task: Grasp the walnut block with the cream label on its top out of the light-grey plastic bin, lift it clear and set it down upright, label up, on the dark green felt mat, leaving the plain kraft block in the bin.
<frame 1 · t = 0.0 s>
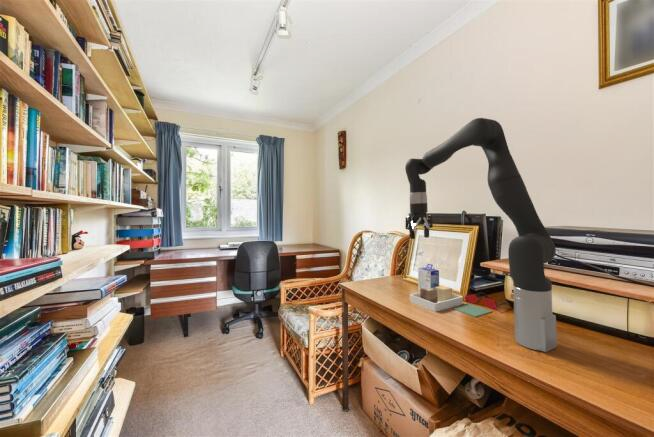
hand: (419, 238, 120), 29 cm above the table, fingers open, 8 cm apart
kraft block: (443, 300, 120), resting on bin
felt mat: (472, 311, 107), on the table
ink cartridge box: (429, 293, 133), on the table
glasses: (490, 304, 115), on the table
bin: (435, 303, 118), on the table
labelled block: (429, 304, 116), resting on bin
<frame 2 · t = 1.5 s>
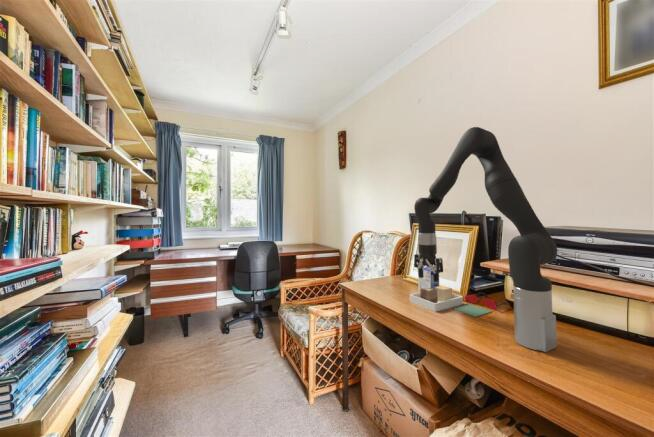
hand: (428, 279, 116), 11 cm above the table, fingers open, 8 cm apart
nothing on the table moved.
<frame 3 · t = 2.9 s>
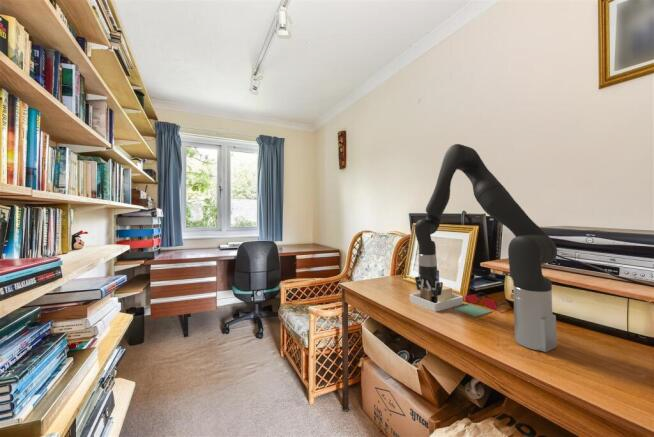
hand: (429, 302, 116), 1 cm above the table, fingers closed on labelled block, 5 cm apart
labelled block: (429, 304, 116), resting on bin, touching gripper
everything else where it was.
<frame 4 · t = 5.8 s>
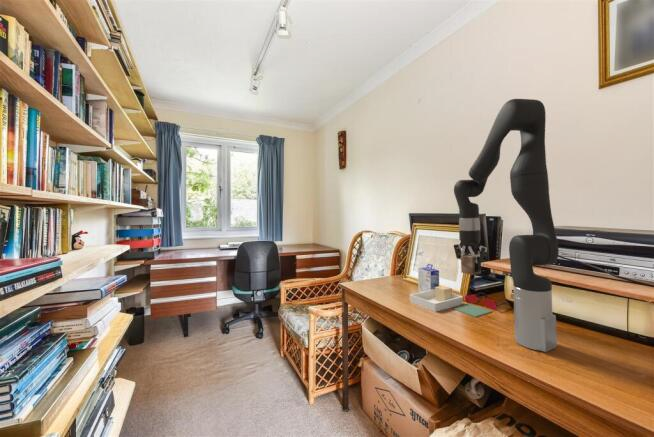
hand: (470, 270, 107), 17 cm above the table, fingers closed on labelled block, 5 cm apart
labelled block: (471, 272, 107), point 16 cm above the table, touching gripper
everything else where it was.
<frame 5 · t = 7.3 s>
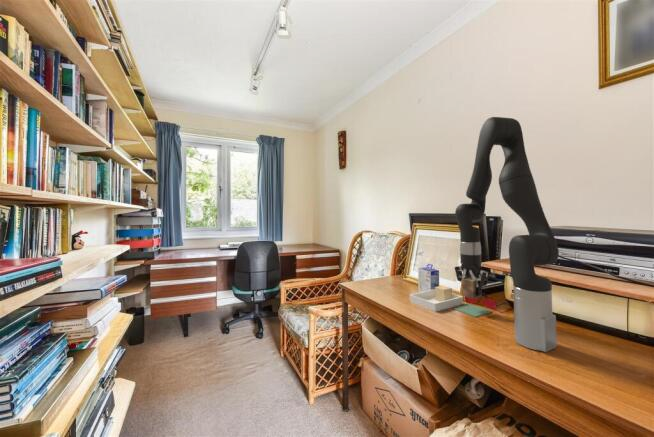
hand: (471, 293, 107), 7 cm above the table, fingers closed on labelled block, 5 cm apart
labelled block: (471, 296, 107), point 6 cm above the table, touching gripper
everything else where it was.
when the fingers open (3 cm above the table, at t = 8.6 s): labelled block drops 2 cm, resting on felt mat.
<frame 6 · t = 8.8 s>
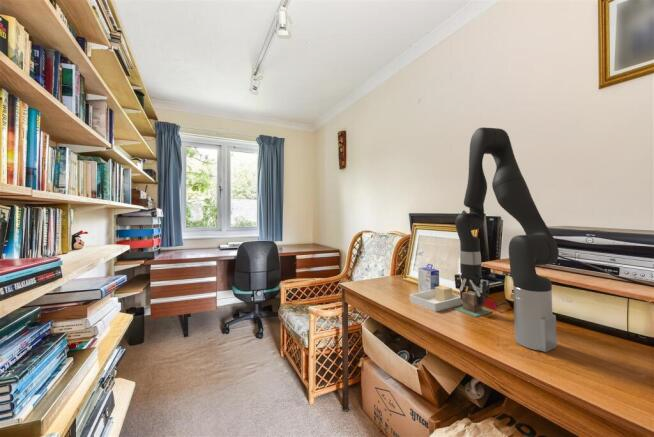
hand: (471, 302, 107), 4 cm above the table, fingers open, 6 cm apart
labelled block: (472, 309, 107), point 1 cm above the table, touching felt mat
everything else where it was.
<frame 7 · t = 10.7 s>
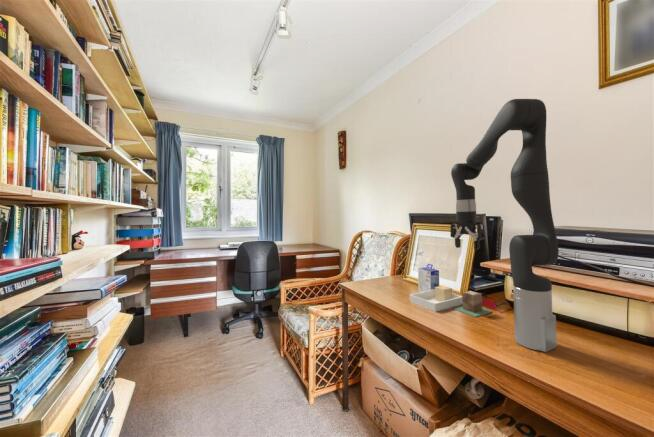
hand: (467, 248, 112), 25 cm above the table, fingers open, 8 cm apart
nothing on the table moved.
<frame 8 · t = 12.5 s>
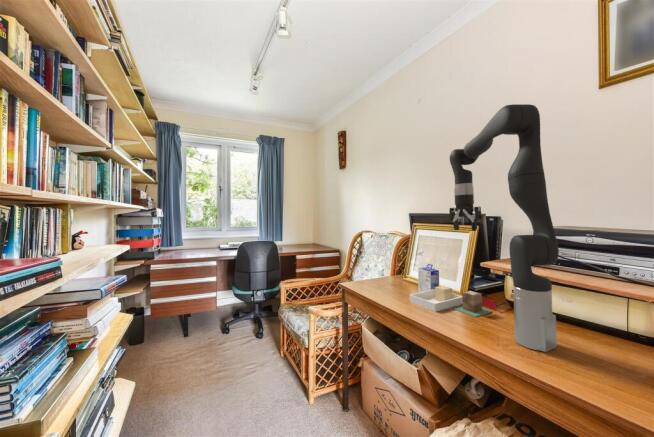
hand: (465, 230, 117), 32 cm above the table, fingers open, 8 cm apart
nothing on the table moved.
at the end: labelled block inside the target area on the felt mat (0.1 cm from its centre), point 0.6 cm above the felt mat's base; labelled block tilted 0°; the gripper is holding nothing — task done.
